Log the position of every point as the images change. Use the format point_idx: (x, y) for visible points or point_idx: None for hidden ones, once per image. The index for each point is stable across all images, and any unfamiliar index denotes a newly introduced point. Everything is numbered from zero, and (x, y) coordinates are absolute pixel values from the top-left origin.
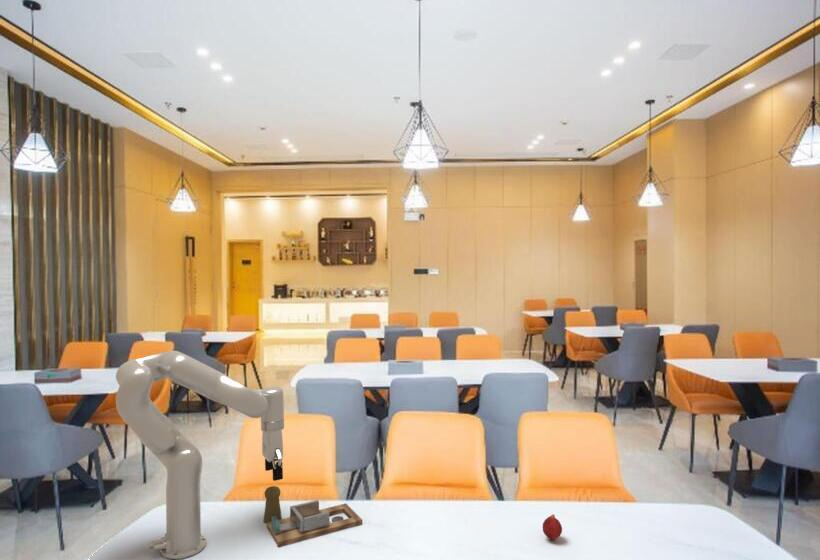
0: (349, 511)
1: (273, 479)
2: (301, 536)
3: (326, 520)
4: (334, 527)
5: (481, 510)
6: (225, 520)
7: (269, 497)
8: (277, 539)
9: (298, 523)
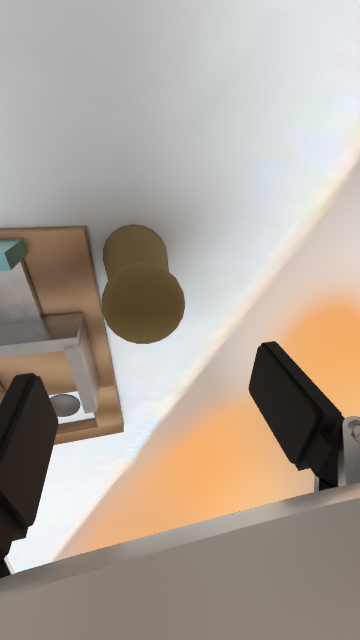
0: (75, 435)
1: (13, 382)
2: None
3: None
4: None
5: (24, 552)
6: (232, 58)
7: (108, 281)
8: None
9: None
